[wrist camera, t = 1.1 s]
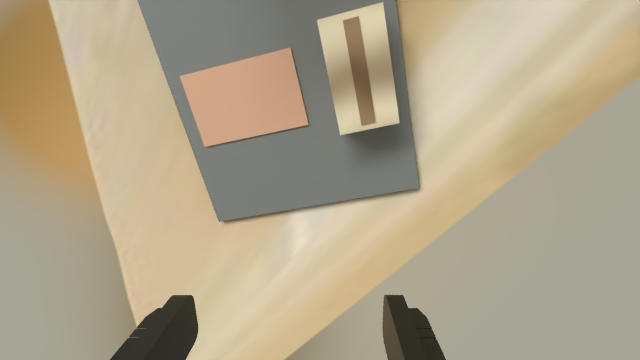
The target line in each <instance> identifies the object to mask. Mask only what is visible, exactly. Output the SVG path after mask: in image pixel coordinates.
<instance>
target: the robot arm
mask: <svg viewBox="0 0 640 360" xmlns="http://www.w3.org/2000/svg"><path fill="white" fill-rule="evenodd" d="M197 334H198V322H197V315H196V309H195V303H194V298H193V296H192V295H173V296H171V297H170V299H169V300H168V301H167V302H166V304H165V305H164V306H163V307H162V308H158V309H156V310H155V311H153V312H152V313H151V314H149V315H148V316H146V317H145V318H144V320H143V321H142V322H141V323H140V324H139V326H138V327H137V329H136V330H134V332H133V333H132V334H131V335H130V337H129V338H128V339H127V340H126V341H125V343H124V344H123V345H122V346H121V347H120V348H119V349H118V351H117V352H116V353H115V354H114V356H113V357H112V358H111V359H110V360H186V358H187V356H188V354H189V352H190V350H191V349H192V347H193V345H194V343H195V341H196V338H197ZM383 338H384V344H385V348H386V353H387V357H388V360H446V359H445V357H444V355H443V352H442V350H441V348H440V346H439V343H438V341H437V340H436V337H435V335H434V333H433V331H432V328H431V326H430V324H429V321H428V319H427V317H426V316H425V315H424V314H422V312H421V311H419V309H417V308H408V306H407V304H406V301H405V299H404V296H403V295H385V296H384V305H383Z"/></svg>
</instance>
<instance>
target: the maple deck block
mask: <svg viewBox="0 0 640 360" xmlns="http://www.w3.org/2000/svg"><path fill="white" fill-rule="evenodd" d="M317 23H318V28H319V33H320V38H321V43H322V48H323V53H324V58H325V63H326V68H327V72H328V77H329V82H330V87H331V92H332V97H333V102H334V107H335V112H336V117H337V122H338V127H339V132H340V135H344V134H349V133H354V132H359V131H364V130H368V129H373V128H378V127H383V126H388V125H393V124H398V123H400V122H399V114H398V107H397V100H396V93H395V85H394V78H393V71H392V63H391V56H390V49H389V42H388V34H387V27H386V20H385V12H384V5H383V2H381V3H378V4H374V5H370V6H367V7H363V8H359V9H355V10H352V11H348V12H344V13H341V14H337V15H333V16H330V17H326V18H322V19H318V20H317Z"/></svg>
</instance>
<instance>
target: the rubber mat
mask: <svg viewBox="0 0 640 360" xmlns="http://www.w3.org/2000/svg"><path fill="white" fill-rule="evenodd" d="M381 2H383V5H384V12H385V20H386V27H387V34H388V42H389V49H390V56H391V63H392V71H393V78H394V85H395V93H396V100H397V107H398V114H399V122H400V123H398V124H393V125H388V126H383V127H378V128H373V129H368V130H364V131H359V132H354V133H349V134H344V135H340V132H339V127H338V122H337V117H336V112H335V107H334V102H333V97H332V92H331V87H330V82H329V77H328V72H327V68H326V63H325V58H324V53H323V48H322V43H321V38H320V33H319V28H318V23H317V20H318V19H322V18H326V17H330V16H333V15H337V14H341V13H344V12H348V11H352V10H355V9H359V8H363V7H367V6H370V5H374V4H378V3H381ZM138 3H139V6H140V8H141V11H142V14H143V17H144V19H145V22H146V25H147V27H148V30H149V33H150V36H151V38H152V41H153V44H154V47H155V49H156V52H157V55H158V57H159V60H160V63H161V66H162V68H163V71H164V74H165V76H166V79H167V82H168V85H169V87H170V90H171V93H172V95H173V98H174V101H175V104H176V106H177V109H178V112H179V114H180V117H181V120H182V123H183V125H184V128H185V131H186V133H187V136H188V139H189V142H190V144H191V147H192V150H193V153H194V155H195V158H196V161H197V163H198V166H199V169H200V172H201V174H202V177H203V180H204V182H205V185H206V188H207V191H208V193H209V196H210V199H211V201H212V204H213V207H214V210H215V212H216V215H217V218H218V220H219V222H220V221H226V220H232V219H238V218H244V217H250V216H256V215H262V214H268V213H273V212H279V211H285V210H291V209H297V208H303V207H309V206H315V205H321V204H327V203H333V202H339V201H345V200H351V199H357V198H363V197H368V196H374V195H380V194H386V193H392V192H398V191H404V190H410V189H416V188H419V182H418V174H417V166H416V158H415V150H414V142H413V134H412V126H411V118H410V110H409V102H408V94H407V86H406V78H405V70H404V62H403V54H402V46H401V38H400V30H399V22H398V14H397V6H396V0H138Z"/></svg>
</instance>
